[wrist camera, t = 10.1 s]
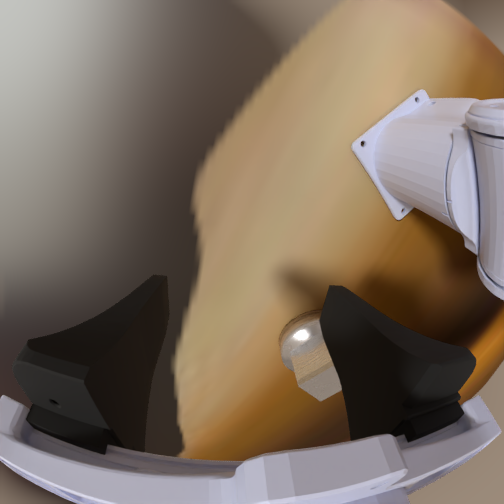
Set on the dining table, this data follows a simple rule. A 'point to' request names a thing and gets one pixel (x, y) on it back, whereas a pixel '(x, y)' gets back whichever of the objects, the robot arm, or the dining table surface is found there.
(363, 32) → the dining table surface
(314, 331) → the metal scoop
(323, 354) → the brushed metal cube
